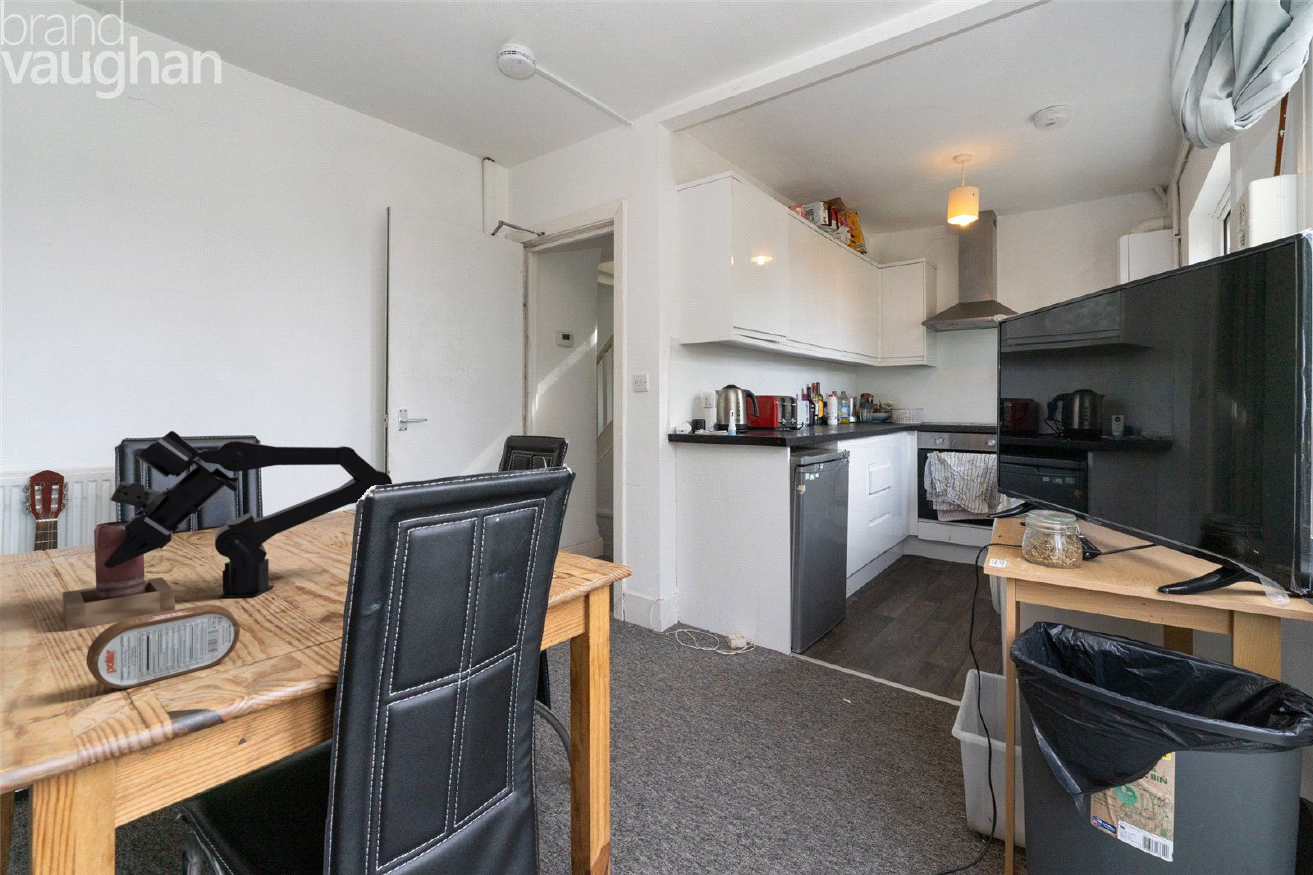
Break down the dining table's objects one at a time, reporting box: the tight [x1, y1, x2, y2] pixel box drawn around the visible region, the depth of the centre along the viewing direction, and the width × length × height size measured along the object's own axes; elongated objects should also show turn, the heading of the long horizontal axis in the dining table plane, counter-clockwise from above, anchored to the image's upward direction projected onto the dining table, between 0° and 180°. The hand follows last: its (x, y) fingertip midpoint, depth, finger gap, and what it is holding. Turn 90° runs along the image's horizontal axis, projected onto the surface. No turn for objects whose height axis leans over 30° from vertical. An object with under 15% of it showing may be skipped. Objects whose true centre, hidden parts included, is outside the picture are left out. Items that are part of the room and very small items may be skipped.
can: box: [93, 520, 146, 601], centre depth 98 cm, size 6×6×14 cm
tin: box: [86, 604, 241, 690], centre depth 73 cm, size 15×3×8 cm, turn 140°
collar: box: [62, 577, 176, 632], centre depth 98 cm, size 13×13×4 cm
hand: (108, 563), depth 97 cm, fingers closed on can, 5 cm apart
